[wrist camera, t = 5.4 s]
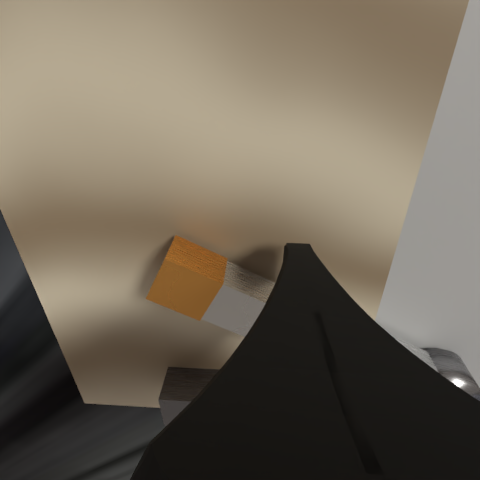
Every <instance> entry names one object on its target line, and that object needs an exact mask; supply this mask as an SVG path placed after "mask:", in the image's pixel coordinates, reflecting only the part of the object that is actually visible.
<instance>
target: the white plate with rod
mask: <svg viewBox="0 0 480 480" xmlns="http://www.w3.org/2000/svg"><path fill="white" fill-rule="evenodd" d="M375 322H376V323H378V324H379V325H380V326H381V327H382V328H383V329H384V330H386V331H387V332H388V333H389V334H390V335H391V336H394V337H396V338H398V339H400V340H402V341H405V342H407V343H409V344H411V345H413V346H416V347H418V348H420V349H422V350H429V349H444V350H448V351H452V352H454V353H456V354H457V355H458V356H460V358H461V359H462V361H463V362H464V364H465V365H466V367H467V369H468V370H469V372H470V373H471V375H472V377H473V378H474V380H475V381H476V383H477V385H478V386H479V388H480V0H469V3H468V6H467V9H466V13H465V16H464V20H463V23H462V26H461V30H460V33H459V37H458V40H457V43H456V47H455V50H454V53H453V57H452V60H451V64H450V67H449V70H448V74H447V77H446V81H445V84H444V87H443V91H442V94H441V98H440V101H439V104H438V108H437V111H436V115H435V118H434V121H433V125H432V128H431V132H430V135H429V138H428V142H427V145H426V149H425V152H424V155H423V159H422V162H421V166H420V169H419V172H418V176H417V179H416V183H415V186H414V189H413V193H412V196H411V200H410V203H409V206H408V210H407V213H406V217H405V220H404V223H403V227H402V230H401V234H400V237H399V240H398V244H397V247H396V251H395V254H394V257H393V261H392V264H391V268H390V271H389V274H388V278H387V281H386V285H385V288H384V291H383V295H382V298H381V302H380V305H379V308H378V312H377V315H376V319H375Z"/></svg>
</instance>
